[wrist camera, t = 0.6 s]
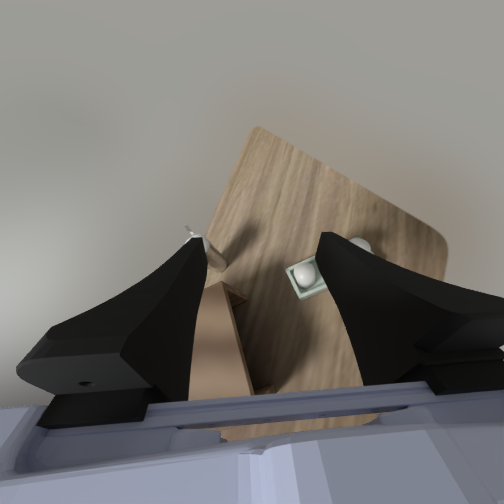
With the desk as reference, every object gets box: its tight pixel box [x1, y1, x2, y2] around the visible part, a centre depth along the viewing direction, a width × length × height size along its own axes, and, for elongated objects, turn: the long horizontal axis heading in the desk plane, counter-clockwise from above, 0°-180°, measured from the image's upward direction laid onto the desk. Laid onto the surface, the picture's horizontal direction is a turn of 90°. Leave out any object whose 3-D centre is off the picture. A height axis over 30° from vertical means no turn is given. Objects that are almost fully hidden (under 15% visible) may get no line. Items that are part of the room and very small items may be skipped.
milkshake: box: [185, 226, 227, 273], centre depth 31 cm, size 4×5×10 cm
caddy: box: [285, 236, 373, 301], centre depth 25 cm, size 5×12×7 cm, turn 110°
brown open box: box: [188, 281, 276, 432], centre depth 24 cm, size 14×11×9 cm
